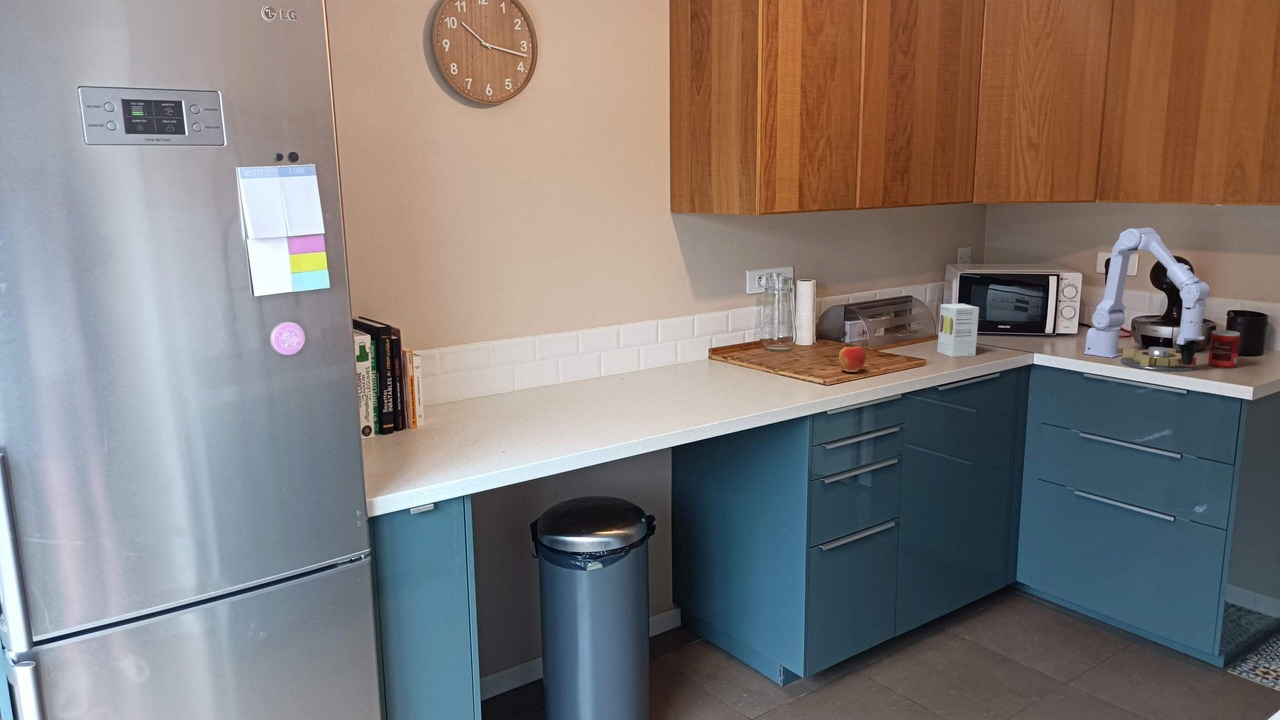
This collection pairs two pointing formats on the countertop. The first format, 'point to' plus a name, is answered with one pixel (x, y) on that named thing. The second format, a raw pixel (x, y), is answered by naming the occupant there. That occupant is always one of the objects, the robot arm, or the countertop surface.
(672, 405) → the countertop surface
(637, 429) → the countertop surface
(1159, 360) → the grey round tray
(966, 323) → the supplement box
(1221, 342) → the canned food
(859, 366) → the apple
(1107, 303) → the robot arm
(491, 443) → the countertop surface
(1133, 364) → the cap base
